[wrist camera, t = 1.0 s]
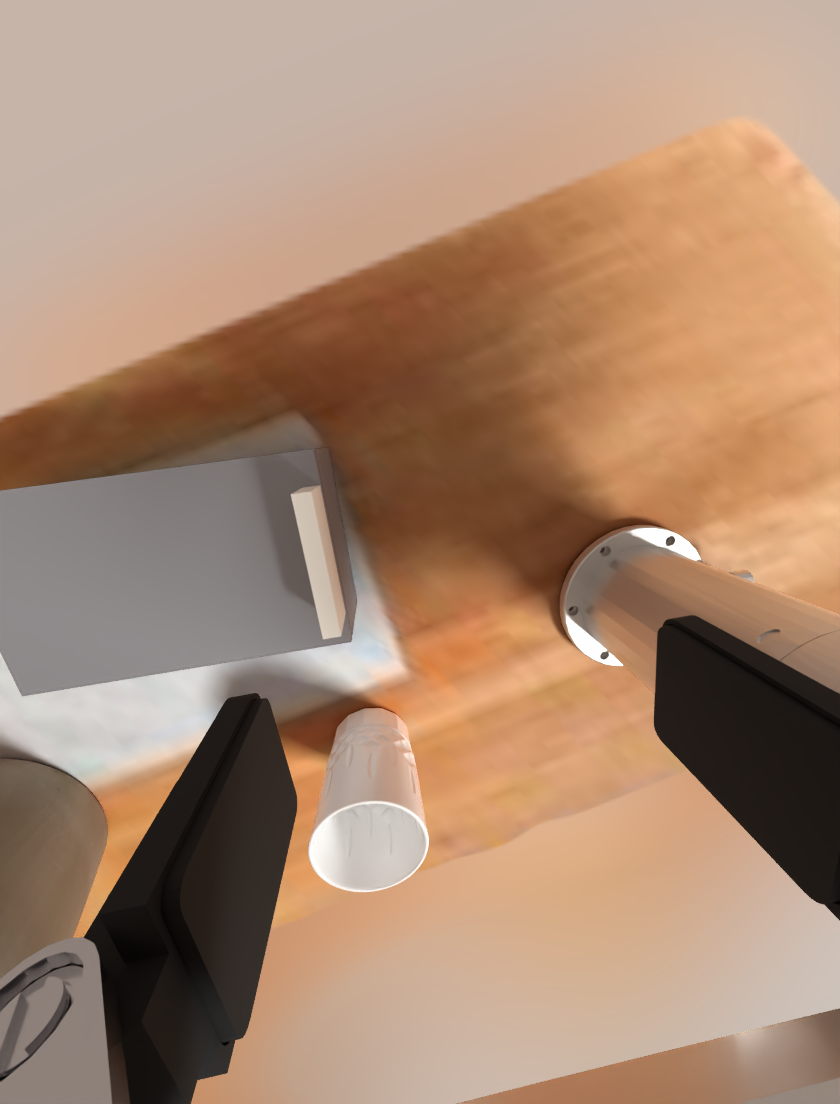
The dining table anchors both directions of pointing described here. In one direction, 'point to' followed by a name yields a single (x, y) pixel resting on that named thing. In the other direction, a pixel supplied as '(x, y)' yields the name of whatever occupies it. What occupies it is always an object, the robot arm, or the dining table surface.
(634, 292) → the dining table surface
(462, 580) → the dining table surface
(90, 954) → the robot arm
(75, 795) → the plant pot
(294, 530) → the mailer lid
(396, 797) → the white cup
